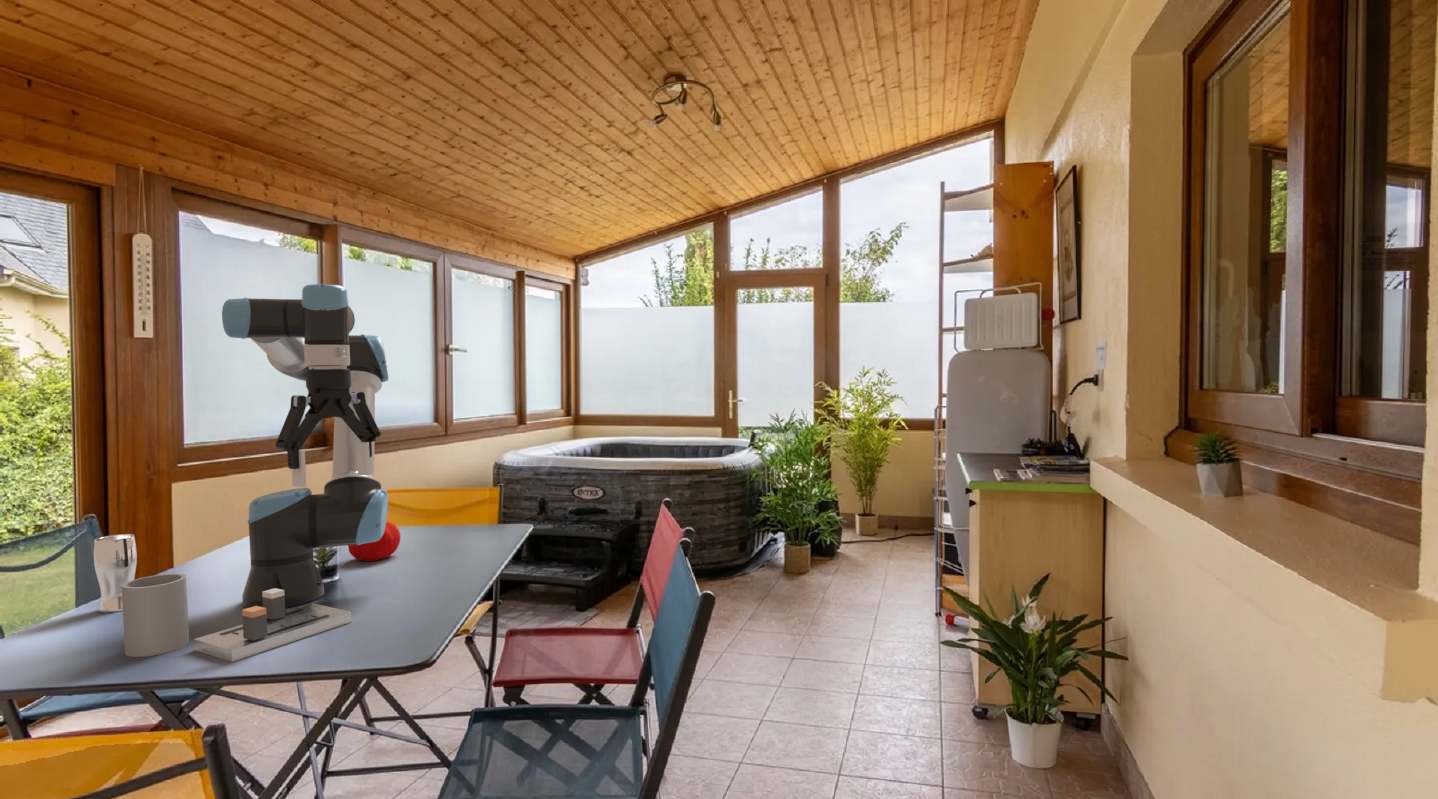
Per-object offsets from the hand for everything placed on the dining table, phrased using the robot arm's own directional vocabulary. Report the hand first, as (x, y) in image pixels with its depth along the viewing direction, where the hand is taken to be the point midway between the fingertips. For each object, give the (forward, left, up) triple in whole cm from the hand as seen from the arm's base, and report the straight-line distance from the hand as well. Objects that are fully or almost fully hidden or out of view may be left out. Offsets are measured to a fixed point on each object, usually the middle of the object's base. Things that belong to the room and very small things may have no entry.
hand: (333, 480), depth 140 cm
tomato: (-41, +38, -28) cm, 62 cm away
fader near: (-3, -14, -26) cm, 29 cm away
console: (-7, -8, -28) cm, 30 cm away
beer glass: (-55, -13, -28) cm, 63 cm away
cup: (-21, -21, -28) cm, 41 cm away
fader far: (-11, -6, -26) cm, 29 cm away
